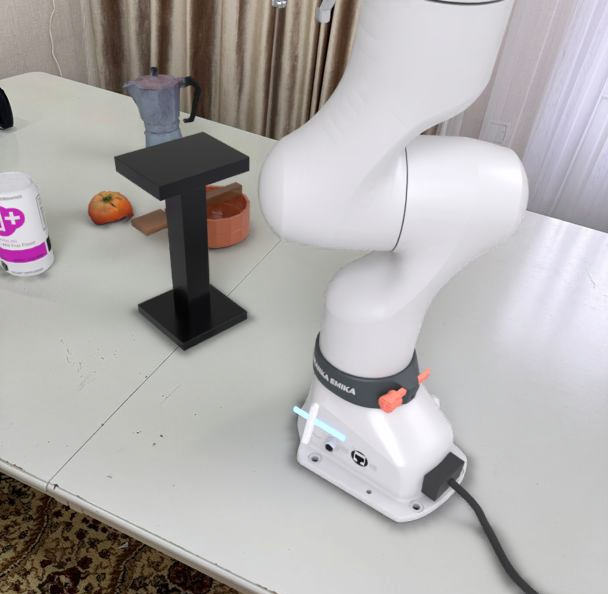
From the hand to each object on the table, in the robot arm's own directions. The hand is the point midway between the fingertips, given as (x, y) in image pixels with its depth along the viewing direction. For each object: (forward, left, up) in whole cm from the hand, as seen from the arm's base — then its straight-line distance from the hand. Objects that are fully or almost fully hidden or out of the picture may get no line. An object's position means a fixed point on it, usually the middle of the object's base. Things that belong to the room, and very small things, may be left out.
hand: (299, 14), depth 94 cm
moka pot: (+37, +2, -37) cm, 52 cm away
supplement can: (+18, +43, -37) cm, 59 cm away
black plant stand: (-10, +30, -37) cm, 49 cm away
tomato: (+24, +24, -37) cm, 50 cm away
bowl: (+8, +12, -37) cm, 40 cm away
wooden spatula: (+8, +16, -31) cm, 36 cm away
